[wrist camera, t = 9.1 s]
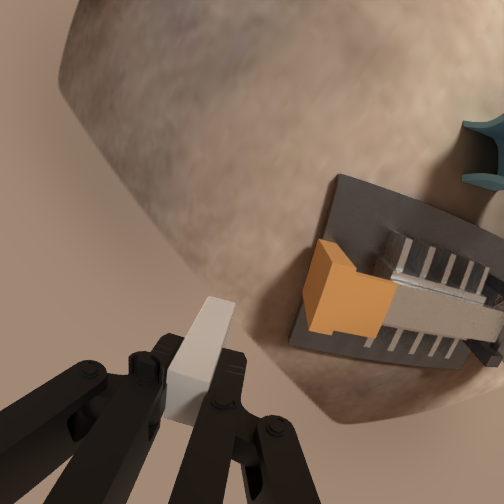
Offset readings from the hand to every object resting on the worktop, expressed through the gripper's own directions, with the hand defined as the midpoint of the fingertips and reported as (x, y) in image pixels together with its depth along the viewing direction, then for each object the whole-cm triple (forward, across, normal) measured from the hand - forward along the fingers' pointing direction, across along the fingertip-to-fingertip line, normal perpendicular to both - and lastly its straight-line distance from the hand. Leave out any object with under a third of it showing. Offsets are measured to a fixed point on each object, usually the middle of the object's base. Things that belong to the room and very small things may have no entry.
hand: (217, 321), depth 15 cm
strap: (+10, +24, 0) cm, 26 cm away
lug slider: (+15, +10, 0) cm, 18 cm away
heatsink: (+17, +21, 0) cm, 27 cm away
